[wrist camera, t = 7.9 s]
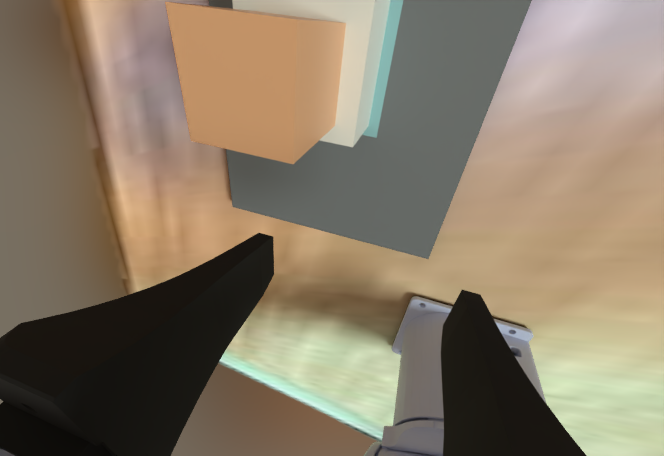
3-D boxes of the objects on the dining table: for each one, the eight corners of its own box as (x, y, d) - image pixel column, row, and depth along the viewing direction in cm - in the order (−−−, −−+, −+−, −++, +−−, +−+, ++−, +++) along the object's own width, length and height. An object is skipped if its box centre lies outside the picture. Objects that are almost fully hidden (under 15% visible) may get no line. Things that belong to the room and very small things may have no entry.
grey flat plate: (528, -3, 13) (533, -5, 12) (428, 252, 22) (428, 259, 21) (213, -36, 16) (204, -39, 15) (237, 202, 25) (232, 206, 24)
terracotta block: (345, 22, 11) (297, 19, 7) (334, 125, 14) (293, 164, 10) (253, 10, 12) (165, 1, 8) (258, 110, 14) (191, 140, 11)
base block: (390, -3, 14) (376, -12, 11) (368, 125, 17) (352, 147, 14) (274, -16, 15) (230, -28, 12) (275, 107, 18) (241, 124, 15)
